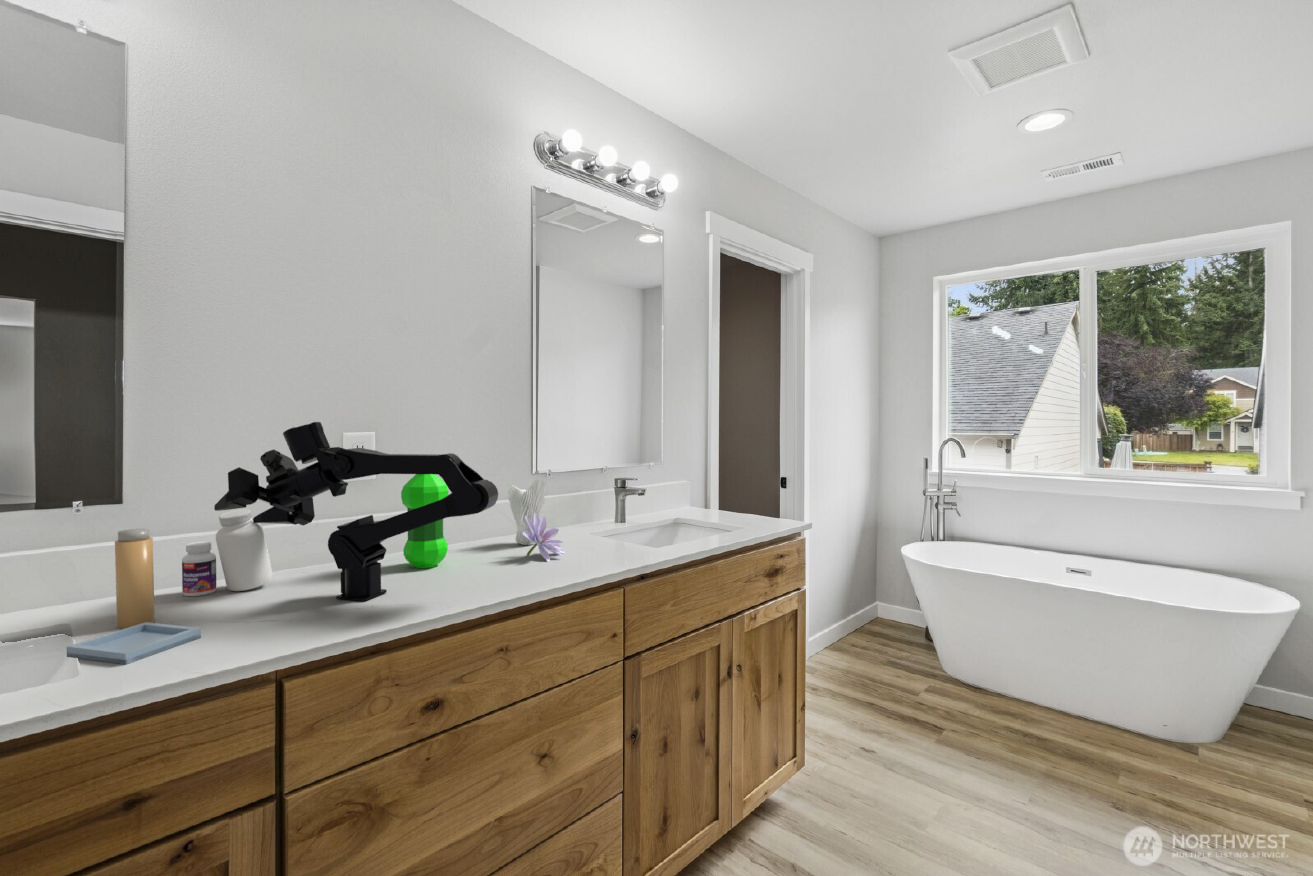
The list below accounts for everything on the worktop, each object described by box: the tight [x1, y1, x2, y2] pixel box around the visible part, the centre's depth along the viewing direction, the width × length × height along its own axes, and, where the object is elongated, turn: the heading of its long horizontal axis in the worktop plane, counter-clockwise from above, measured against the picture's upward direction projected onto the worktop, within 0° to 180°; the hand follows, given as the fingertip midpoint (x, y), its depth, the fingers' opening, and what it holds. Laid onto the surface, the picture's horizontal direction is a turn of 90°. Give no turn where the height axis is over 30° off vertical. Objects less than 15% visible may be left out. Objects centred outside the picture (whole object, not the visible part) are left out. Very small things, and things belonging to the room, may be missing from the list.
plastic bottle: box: [400, 474, 450, 569], centre depth 145 cm, size 10×10×25 cm
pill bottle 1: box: [181, 541, 217, 597], centre depth 122 cm, size 5×5×10 cm
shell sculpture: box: [507, 477, 547, 546], centre depth 169 cm, size 8×8×18 cm
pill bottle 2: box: [215, 508, 274, 592], centre depth 125 cm, size 8×8×15 cm
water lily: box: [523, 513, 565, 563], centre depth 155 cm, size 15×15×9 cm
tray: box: [66, 622, 202, 665], centre depth 93 cm, size 11×11×2 cm
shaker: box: [114, 528, 156, 630], centre depth 104 cm, size 5×5×16 cm
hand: (235, 514), depth 121 cm, fingers open, 9 cm apart
